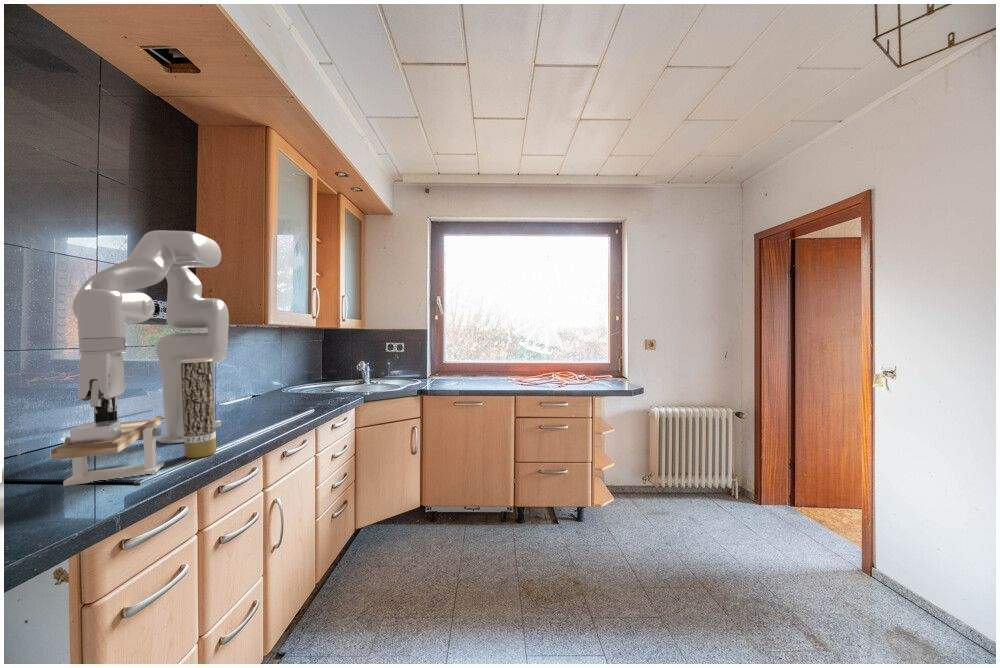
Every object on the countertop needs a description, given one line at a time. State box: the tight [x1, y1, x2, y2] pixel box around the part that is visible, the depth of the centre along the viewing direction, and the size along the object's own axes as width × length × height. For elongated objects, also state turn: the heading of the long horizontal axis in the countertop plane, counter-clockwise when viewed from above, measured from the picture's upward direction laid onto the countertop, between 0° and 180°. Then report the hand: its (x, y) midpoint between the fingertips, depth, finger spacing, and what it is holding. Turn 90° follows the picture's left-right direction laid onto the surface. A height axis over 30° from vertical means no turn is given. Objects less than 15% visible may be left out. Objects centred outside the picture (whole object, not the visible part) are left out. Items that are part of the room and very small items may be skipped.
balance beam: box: [50, 415, 162, 461], centre depth 98 cm, size 28×10×5 cm, turn 24°
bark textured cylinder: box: [181, 358, 217, 459], centre depth 112 cm, size 7×7×25 cm
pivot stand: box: [63, 427, 165, 487], centre depth 98 cm, size 6×17×10 cm, turn 114°
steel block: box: [69, 419, 122, 445], centre depth 90 cm, size 6×6×4 cm
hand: (107, 429), depth 94 cm, fingers closed
